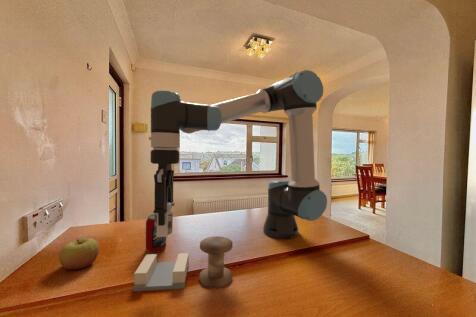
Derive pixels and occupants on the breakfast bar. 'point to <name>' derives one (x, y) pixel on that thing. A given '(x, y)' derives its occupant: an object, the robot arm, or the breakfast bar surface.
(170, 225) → the pill bottle
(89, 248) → the apple
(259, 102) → the robot arm
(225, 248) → the bobbin
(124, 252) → the breakfast bar surface
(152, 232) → the beverage can
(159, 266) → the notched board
